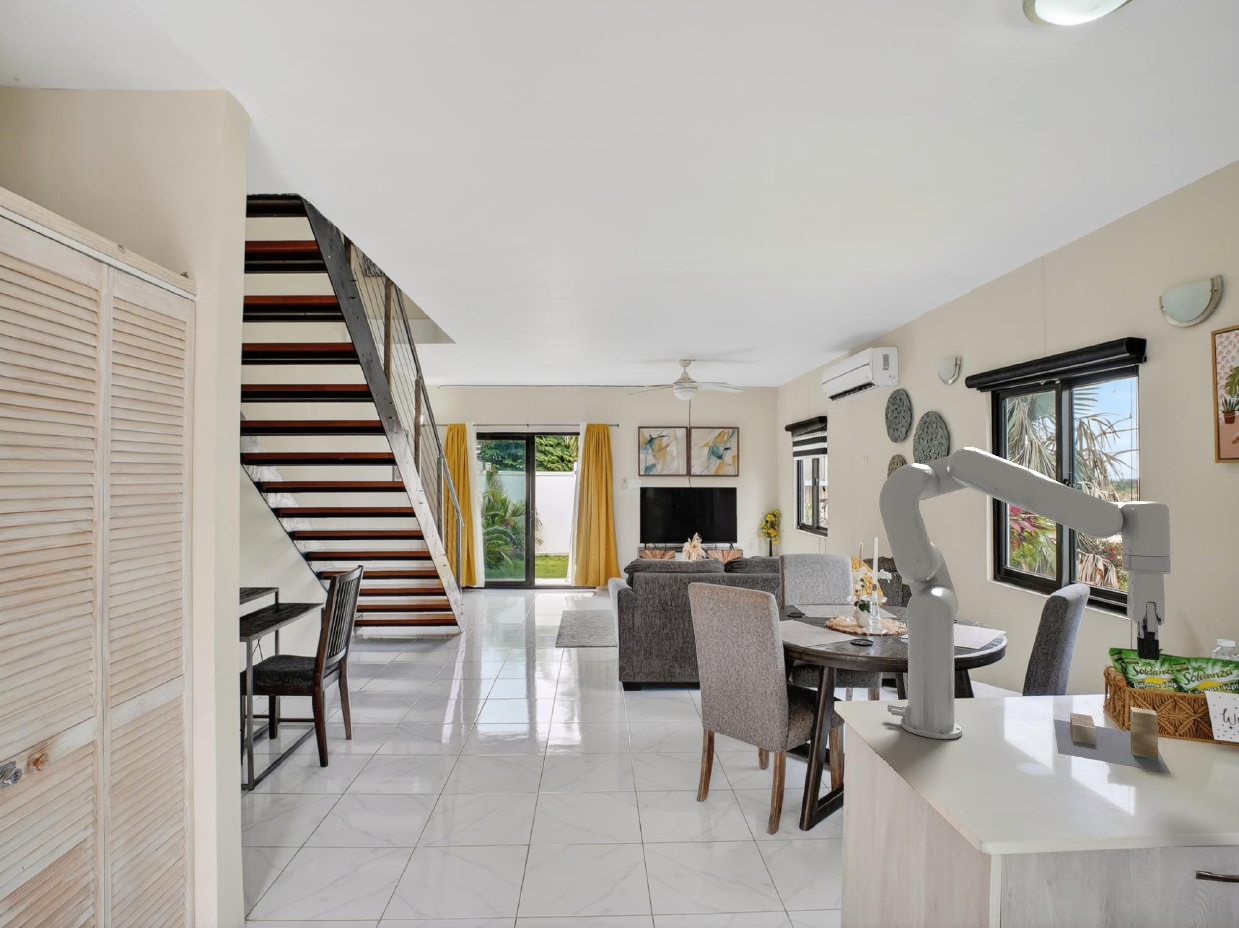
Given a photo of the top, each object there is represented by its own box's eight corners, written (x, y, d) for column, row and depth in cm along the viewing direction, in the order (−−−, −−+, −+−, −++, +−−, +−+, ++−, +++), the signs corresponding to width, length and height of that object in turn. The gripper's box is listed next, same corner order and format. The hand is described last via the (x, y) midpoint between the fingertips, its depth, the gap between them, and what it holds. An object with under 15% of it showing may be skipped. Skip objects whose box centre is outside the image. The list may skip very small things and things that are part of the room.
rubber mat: (1058, 754, 139) (1058, 752, 139) (1053, 720, 160) (1053, 719, 160) (1170, 775, 130) (1170, 772, 130) (1150, 736, 150) (1150, 734, 150)
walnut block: (1072, 724, 146) (1070, 712, 154) (1072, 740, 146) (1070, 728, 154) (1095, 727, 144) (1091, 715, 152) (1095, 744, 144) (1091, 731, 151)
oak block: (1133, 756, 138) (1132, 711, 138) (1130, 750, 141) (1130, 706, 141) (1158, 760, 136) (1157, 715, 136) (1155, 754, 139) (1154, 710, 139)
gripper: (1117, 560, 142) (1119, 648, 141) (1127, 566, 129) (1129, 664, 128) (1163, 562, 138) (1165, 653, 137) (1178, 569, 125) (1180, 670, 125)
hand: (1148, 658), depth 133 cm, fingers closed
